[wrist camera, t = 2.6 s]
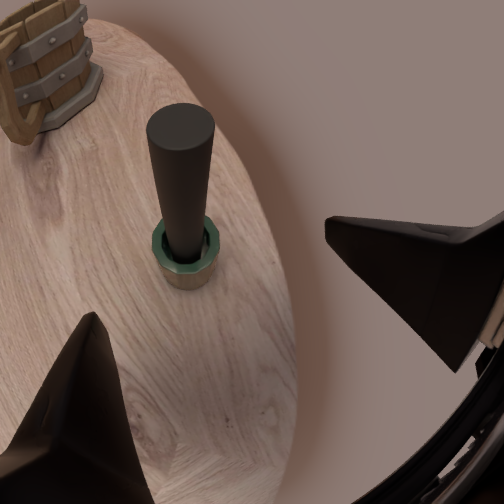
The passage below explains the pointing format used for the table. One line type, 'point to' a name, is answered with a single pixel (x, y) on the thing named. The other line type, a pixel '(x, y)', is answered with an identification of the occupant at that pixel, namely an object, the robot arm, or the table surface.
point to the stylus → (182, 174)
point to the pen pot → (187, 273)
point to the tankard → (44, 68)
